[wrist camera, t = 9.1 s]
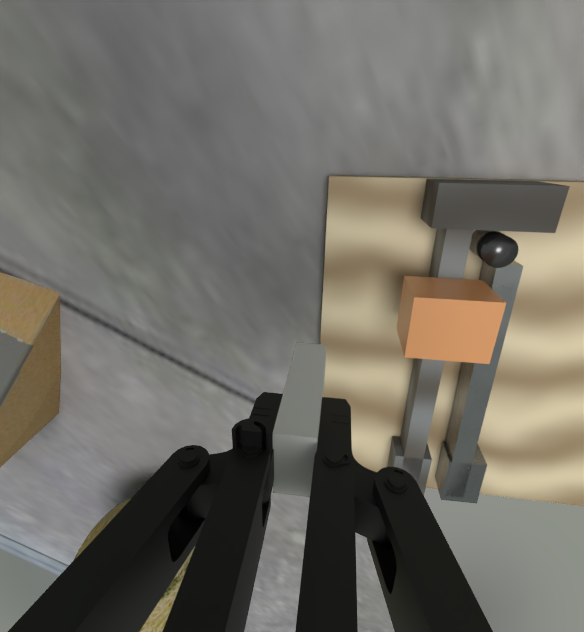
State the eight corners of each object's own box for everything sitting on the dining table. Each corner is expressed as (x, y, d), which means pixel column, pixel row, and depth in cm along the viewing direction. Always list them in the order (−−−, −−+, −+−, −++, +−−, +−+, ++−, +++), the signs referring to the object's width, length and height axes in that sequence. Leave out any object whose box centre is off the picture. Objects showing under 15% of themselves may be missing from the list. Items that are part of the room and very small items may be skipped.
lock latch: (404, 275, 25) (414, 297, 21) (482, 280, 24) (506, 302, 20) (396, 329, 26) (404, 357, 23) (469, 334, 26) (489, 364, 22)
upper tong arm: (471, 226, 25) (487, 235, 22) (534, 227, 25) (557, 237, 22) (424, 476, 35) (430, 504, 32) (468, 481, 34) (478, 509, 32)
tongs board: (329, 175, 26) (326, 180, 22) (735, 184, 23) (830, 192, 19) (314, 462, 38) (310, 505, 33) (584, 493, 35) (621, 545, 30)
